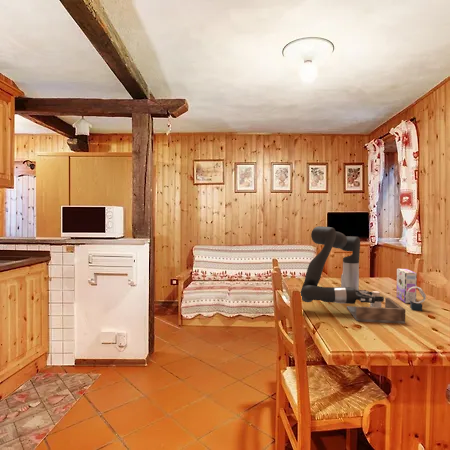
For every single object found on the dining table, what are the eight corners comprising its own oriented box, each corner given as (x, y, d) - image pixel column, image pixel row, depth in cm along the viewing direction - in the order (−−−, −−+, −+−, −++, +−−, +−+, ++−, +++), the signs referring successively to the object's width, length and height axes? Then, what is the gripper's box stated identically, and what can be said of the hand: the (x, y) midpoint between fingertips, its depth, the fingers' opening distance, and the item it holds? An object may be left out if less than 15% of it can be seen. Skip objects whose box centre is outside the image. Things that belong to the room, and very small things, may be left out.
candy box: (416, 304, 166) (417, 272, 165) (404, 303, 167) (405, 272, 167) (407, 297, 179) (407, 268, 179) (395, 296, 181) (396, 268, 180)
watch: (426, 311, 153) (427, 288, 153) (407, 309, 156) (408, 287, 156) (424, 308, 158) (425, 286, 158) (406, 306, 161) (406, 285, 161)
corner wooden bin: (356, 321, 139) (357, 307, 139) (346, 308, 159) (346, 296, 158) (405, 323, 136) (405, 309, 136) (388, 309, 156) (388, 297, 155)
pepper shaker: (369, 310, 150) (370, 290, 150) (378, 311, 150) (378, 290, 149) (372, 313, 146) (372, 292, 146) (381, 313, 146) (382, 293, 145)
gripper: (347, 290, 143) (386, 292, 140) (340, 284, 157) (375, 285, 154) (347, 307, 143) (385, 309, 140) (340, 299, 157) (375, 300, 155)
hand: (380, 296), depth 147 cm, fingers open, 8 cm apart
